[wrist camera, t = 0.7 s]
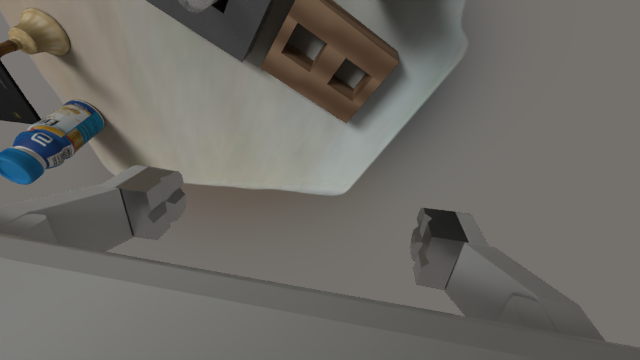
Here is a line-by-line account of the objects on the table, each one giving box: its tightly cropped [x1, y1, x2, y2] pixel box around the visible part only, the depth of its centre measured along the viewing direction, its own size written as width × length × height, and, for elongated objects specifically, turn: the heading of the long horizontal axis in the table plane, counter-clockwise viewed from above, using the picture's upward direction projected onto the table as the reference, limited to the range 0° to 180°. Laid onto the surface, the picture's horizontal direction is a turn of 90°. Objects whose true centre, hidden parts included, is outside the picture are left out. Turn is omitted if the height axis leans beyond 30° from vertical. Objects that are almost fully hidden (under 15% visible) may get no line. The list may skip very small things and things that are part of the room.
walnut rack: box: [261, 0, 399, 123], centre depth 50 cm, size 14×18×5 cm
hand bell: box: [0, 8, 70, 58], centre depth 50 cm, size 8×8×16 cm
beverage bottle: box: [0, 100, 104, 185], centre depth 61 cm, size 8×8×20 cm
